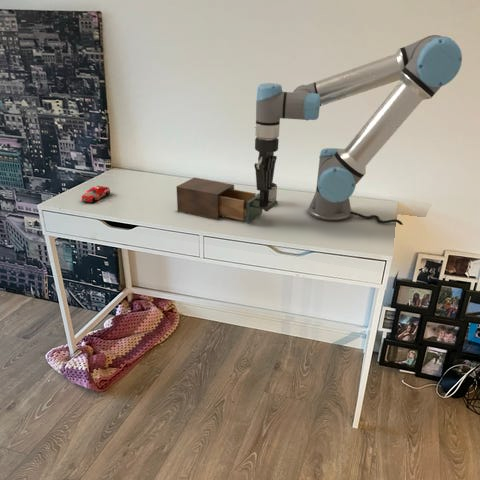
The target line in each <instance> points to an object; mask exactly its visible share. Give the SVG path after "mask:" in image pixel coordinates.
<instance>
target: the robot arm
mask: <svg viewBox="0 0 480 480" xmlns="http://www.w3.org/2000/svg"><path fill="white" fill-rule="evenodd" d="M462 62H463V53H462V50H461V48H460V46H459V45H458V44H457V43H456V40H453V39H452V38H450V37H449V36H442V35H438V34H437V35H436V34H433V35H432V34H431V35H428V36H426V37H423V38H420V39H419V40H416V41H415V42H413V43H410V44H408V45H405V46H403V47H400V48H398V49H397V51H396V52H395V53H394V54H391V55H388V56H385V57H382V58H380V59H376V60H374V61H371V62H368V63H366V64H365V63H364V64H361V65H360V66H356V67H354V68H351V69H348V70H345V71H342V72H339V73H337V74H333V75H331V76H328V77H325V78H322V79H320V80H317V81H315V82H311V83H309V84H301V85H299V86H297V87H295V89H294V90H293V91H291V92H289V91H288V92H287V91H283V88H282V87H283V86H282V85H281V84H279V83H272V82H265V83H264V82H263V83H260V84H259V85H258V86H257V89H256V90H257V92H256V99H255V101H256V103H255V125H254V128H255V138H254V150H255V151H257V152H258V157H257V163H256V162H255V163H254V169H255V181H256V182H255V183H256V191H259V193H260V200H259V206H260V207H266V206H267V205H268V199H269V190H272V187H270V186H272V183H274V174H275V167H276V163H277V159H278V158H277V157H278V156H277V155H275V152H278V150H279V141H280V140H279V137H280V127H281V123H280V122H281V119H285V120H300V121H301V120H302V121H316V120H317V119H319V116H320V110H321V109H320V108H321V107H322V106H326V105H329V104H331V103H335V102H337V101H340V100H344V99H347V98H350V97H353V96H356V95H358V94H361V93H362V94H363V93H365V92H368V91H370V90H375V89H377V88H380V87H383V86H387V85H388V84H391V83H395V82H398V81H399V82H398V83H397V85H396V86H394V88H393V89H392V90H391V92H390V93H389V94H388V95H387V96H386V98H385V99H384V101H382V103H381V104H379V105H380V106H379V107H377V109H376V110H375V111H374V112H373V114H372V115H371V116H370V117H369V119H368V120H367V121H366V123H364V125H362V127H361V128H360V130H358V132H357V133H356V135H355V136H354V137H353V138H352V139H351V141H350V142H348V143H349V144H348V145H347V146H346V147H345V148H337V147H336V148H335V147H328V148H322V149H321V150H320V153H319V157H318V158H319V161H318V162H319V163H318V170H317V179H316V188H315V192H314V195H313V197H312V199H311V202H310V204H309V207H308V213H309V215H310V216H312V217H313V218H316V219H318V220H322V221H328V222H329V221H330V222H340V221H344V220H347V219H349V218H350V217H351V216H352V215H353V216H356V217H360V218H361V219H362V218H363V219H366V220H369V219H376V221H377V222H378V223H380V224H390V223H397V224H398V225H401V226H403V225H404V223H403V222H402V221H401V220H400V219H394V218H392V219H387V220H382V219H380V216H378V215H375V214H372V215H364V214H361V213H358V212H355V211H352V207H351V201H350V197H351V196H352V195H353V194H354V192H355V189H356V186H357V184H358V183H359V182H360V181H361V180H362V178H363V177H364V176H365V175H366V174H367V172H366V171H367V170H366V167H367V165H368V164H369V163H370V162H371V161H372V160H373V158H374V157H375V156H376V155H377V154H378V153H379V152H380V150H381V149H382V148H383V147H384V146H385V145H386V143H387V142H388V141H389V140H390V139H391V138H392V137H393V135H394V134H395V133H396V132H397V131H398V129H399V128H400V127H401V126H402V125H403V124H404V122H406V120H407V119H408V118H409V117H410V116H411V114H412V113H414V111H415V110H416V109H417V107H418V106H419V105H420V104H421V103H422V102H423V101H425V100H429V99H430V100H431V99H432V98H433V97H434V96H435V95H436V93H437V92H438V91H439V90H440V89H441V88H442V87H444V86H446V85H448V84H449V83H450V82H452V81H453V80H454V79H455V78H456V76H457V75H458V73H459V72H460V70H461V67H462ZM399 271H400V270H398V271H397V273H396V274H395V277H394V278H393V283H392V289H393V290H394V289H396V284H397V280H398V275H399Z"/></svg>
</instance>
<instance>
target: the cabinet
mask: <svg viewBox="0 0 480 480" xmlns="http://www.w3.org/2000/svg"><path fill="white" fill-rule="evenodd" d="M230 189H235V184H232V183H227V182H221V181H216V180H210V179H206V178H199V177H192V178H190V179H189V180H187V181H184V182H182V183H181V184H178V185H176V205H177V212H178V213H183V214H188V215H193V216H197V217H202V218H205V219H211V220H216V221H219V220H220V219H222V218H223V217H224V216H221V215H219V196H220V195H222V194H223V193H225V192H227V191H228V190H230Z"/></svg>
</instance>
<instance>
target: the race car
mask: <svg viewBox="0 0 480 480" xmlns="http://www.w3.org/2000/svg"><path fill="white" fill-rule="evenodd" d="M110 194H111V189H110V187H109V186H106V185H105V186H104V185H95V186H92V187H91V188H89V189H88V190H86V192H85V193H84V194H83V195H81V201H82V202H84V203H94V204H95V203H96V201H99V200H100V199H103V198H107V197H109V195H110Z"/></svg>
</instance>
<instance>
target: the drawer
mask: <svg viewBox="0 0 480 480" xmlns="http://www.w3.org/2000/svg"><path fill="white" fill-rule="evenodd" d="M259 200H260V192H259V193H258V194H256V193H255V192H249V191H246V190H239V189H235V188H234V189H230V190H228V191H227V192H225V193H223V194H222V195H220V196H219V215H221V216H223V217H227V218H231V219H234V220H240V221H245V224H250V223H251V222H253V221H254V220H255V219H257V218H258V217H259V216H261V215H263V210H264V212H269V211H270V210H271V209H273V208H274V207H275V206H277V205H278V201H277V199H276V200H274V201H269V200H268V203H270V204H269V205H267V206H266V207H260V206H259Z"/></svg>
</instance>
